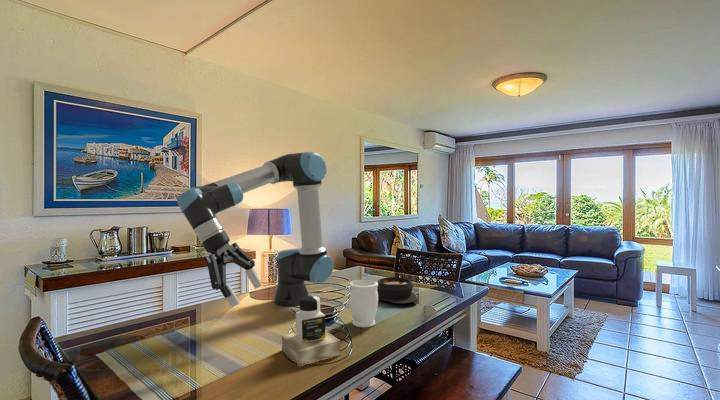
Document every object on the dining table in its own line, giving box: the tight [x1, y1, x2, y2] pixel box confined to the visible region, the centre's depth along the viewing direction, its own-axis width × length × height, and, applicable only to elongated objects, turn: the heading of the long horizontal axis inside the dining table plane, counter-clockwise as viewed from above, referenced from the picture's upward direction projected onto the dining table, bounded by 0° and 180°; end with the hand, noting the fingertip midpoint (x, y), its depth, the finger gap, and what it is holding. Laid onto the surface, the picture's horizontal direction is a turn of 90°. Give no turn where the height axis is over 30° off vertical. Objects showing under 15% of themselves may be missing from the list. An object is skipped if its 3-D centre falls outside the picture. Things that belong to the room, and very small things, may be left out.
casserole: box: [377, 276, 418, 305], centre depth 161 cm, size 25×19×8 cm
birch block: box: [281, 329, 341, 366], centre depth 107 cm, size 13×13×5 cm
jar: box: [349, 279, 379, 328], centre depth 131 cm, size 11×10×15 cm
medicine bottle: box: [295, 295, 326, 343], centre depth 107 cm, size 7×7×12 cm
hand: (248, 295), depth 110 cm, fingers open, 13 cm apart
